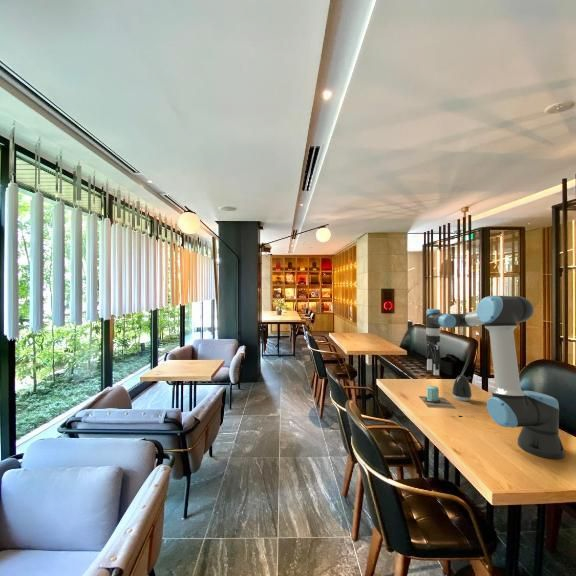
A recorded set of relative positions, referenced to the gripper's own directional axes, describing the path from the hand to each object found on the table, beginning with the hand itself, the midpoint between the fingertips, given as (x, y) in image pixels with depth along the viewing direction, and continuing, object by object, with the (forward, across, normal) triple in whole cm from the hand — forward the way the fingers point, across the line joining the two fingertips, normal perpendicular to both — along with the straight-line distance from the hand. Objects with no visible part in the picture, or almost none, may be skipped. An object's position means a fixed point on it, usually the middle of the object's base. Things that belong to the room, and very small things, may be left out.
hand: (432, 372), depth 181 cm
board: (+18, -2, -2) cm, 18 cm away
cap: (+16, 0, 0) cm, 16 cm away
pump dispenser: (+18, +6, -19) cm, 27 cm away
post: (+17, 0, 0) cm, 17 cm away
